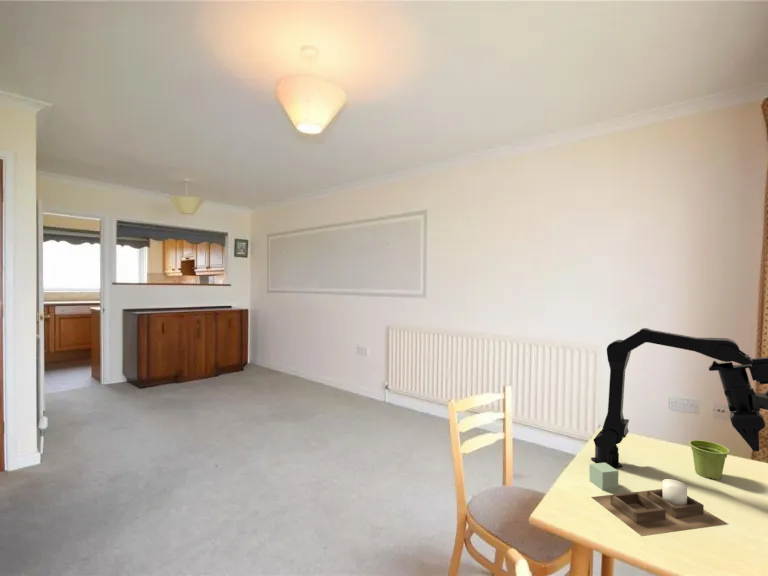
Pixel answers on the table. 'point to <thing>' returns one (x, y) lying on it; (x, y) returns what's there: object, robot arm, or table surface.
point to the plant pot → (708, 458)
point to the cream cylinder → (674, 492)
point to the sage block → (604, 476)
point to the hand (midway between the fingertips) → (754, 445)
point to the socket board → (657, 512)
